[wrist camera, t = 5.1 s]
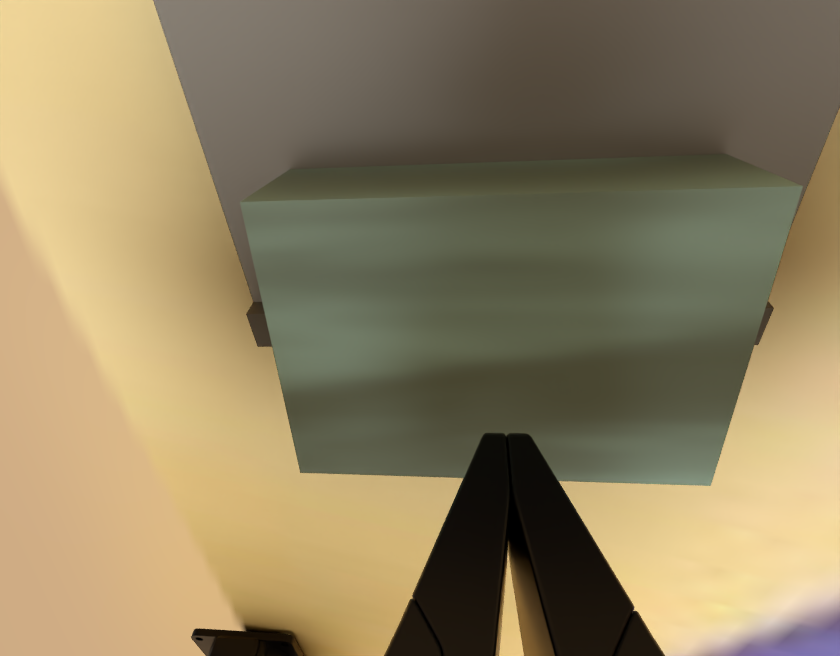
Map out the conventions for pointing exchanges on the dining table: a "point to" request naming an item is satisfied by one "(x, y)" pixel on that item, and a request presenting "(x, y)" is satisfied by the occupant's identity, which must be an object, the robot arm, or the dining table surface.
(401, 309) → the grey-green rectangular block
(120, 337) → the dining table surface
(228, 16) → the slate board
